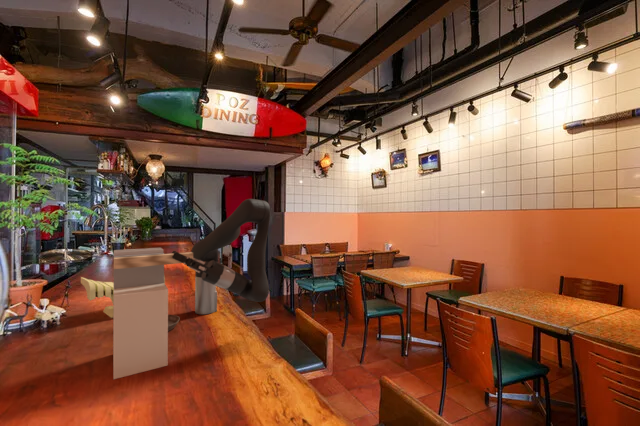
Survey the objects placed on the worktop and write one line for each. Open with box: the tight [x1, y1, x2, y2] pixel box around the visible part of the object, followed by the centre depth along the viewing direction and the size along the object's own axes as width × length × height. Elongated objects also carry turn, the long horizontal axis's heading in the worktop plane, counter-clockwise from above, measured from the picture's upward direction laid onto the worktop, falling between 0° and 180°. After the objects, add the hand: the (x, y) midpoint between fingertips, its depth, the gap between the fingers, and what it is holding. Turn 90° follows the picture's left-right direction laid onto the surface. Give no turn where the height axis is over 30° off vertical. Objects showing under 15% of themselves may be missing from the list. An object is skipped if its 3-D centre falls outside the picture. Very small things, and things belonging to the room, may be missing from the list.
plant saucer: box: [168, 314, 181, 332], centre depth 123 cm, size 18×18×3 cm
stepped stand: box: [112, 247, 169, 380], centre depth 97 cm, size 14×18×35 cm
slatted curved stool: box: [80, 275, 166, 319], centre depth 142 cm, size 30×16×18 cm, turn 140°
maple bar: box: [113, 251, 193, 270], centre depth 96 cm, size 22×3×3 cm, turn 125°
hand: (172, 254), depth 99 cm, fingers closed on maple bar, 3 cm apart
